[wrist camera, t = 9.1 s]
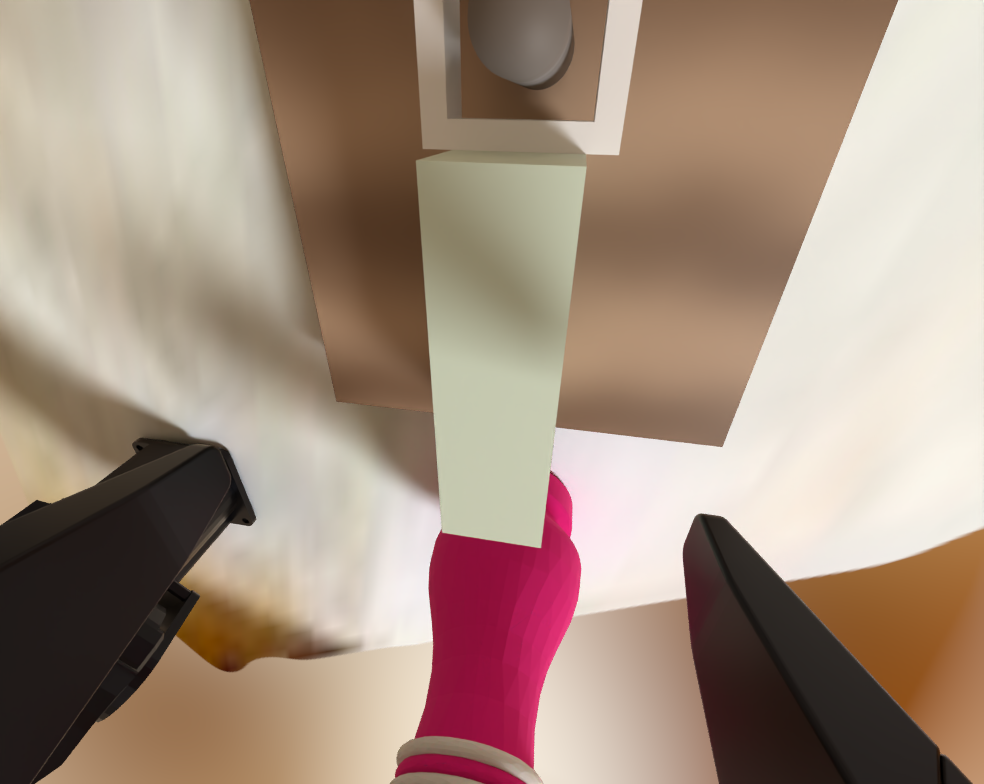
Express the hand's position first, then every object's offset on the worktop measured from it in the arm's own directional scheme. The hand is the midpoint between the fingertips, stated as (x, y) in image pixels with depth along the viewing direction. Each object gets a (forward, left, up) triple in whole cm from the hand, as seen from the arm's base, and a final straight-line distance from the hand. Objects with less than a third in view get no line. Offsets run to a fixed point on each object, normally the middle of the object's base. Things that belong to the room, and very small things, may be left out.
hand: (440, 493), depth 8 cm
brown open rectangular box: (+2, -1, -12) cm, 12 cm away
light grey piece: (+2, -1, -9) cm, 9 cm away
